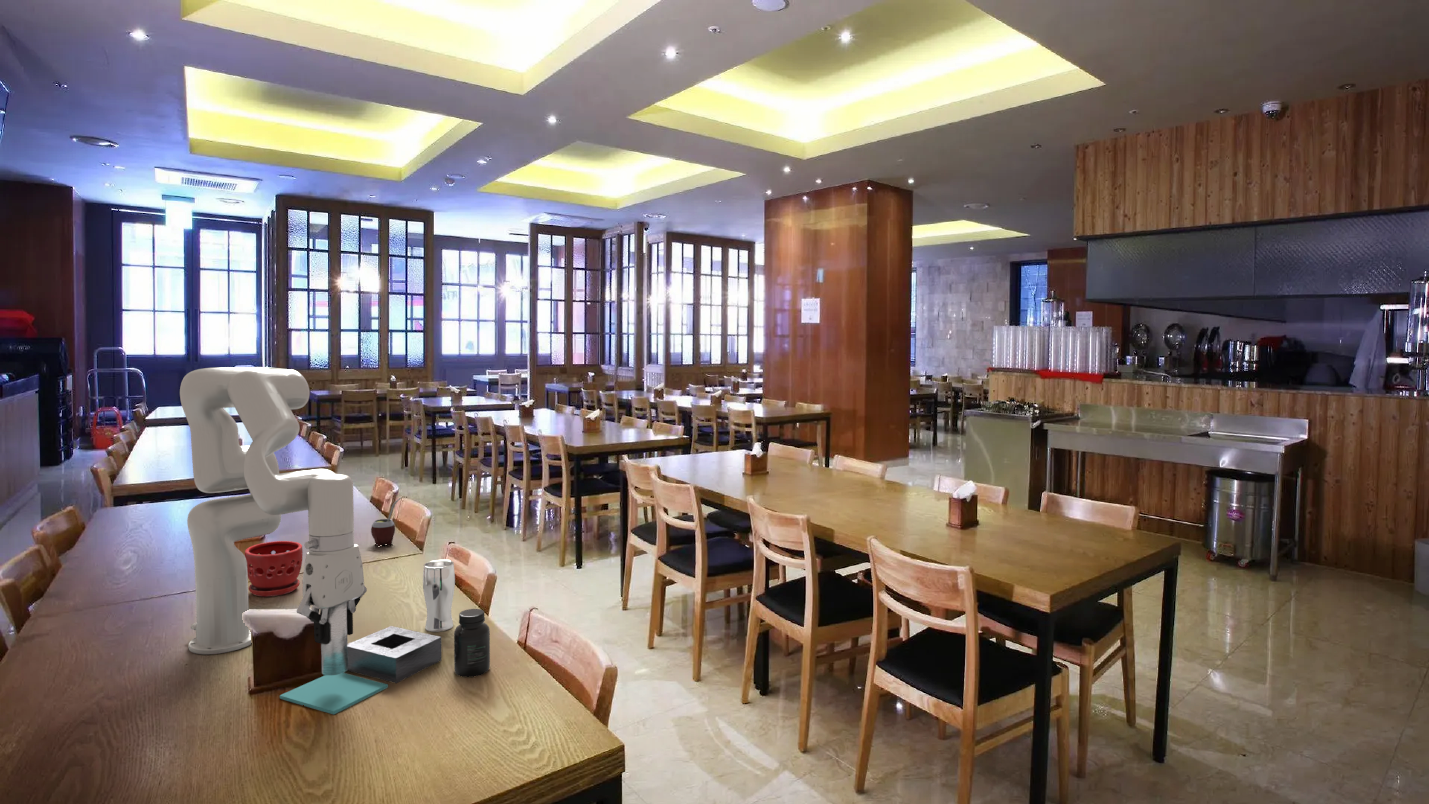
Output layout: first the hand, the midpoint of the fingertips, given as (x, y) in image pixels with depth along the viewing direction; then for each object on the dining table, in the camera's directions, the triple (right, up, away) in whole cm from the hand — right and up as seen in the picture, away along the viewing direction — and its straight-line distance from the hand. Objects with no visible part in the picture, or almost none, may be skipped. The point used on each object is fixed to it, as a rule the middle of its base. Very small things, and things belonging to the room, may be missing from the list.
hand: (334, 637), depth 143 cm
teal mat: (0, -11, +1) cm, 11 cm away
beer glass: (+7, -9, +35) cm, 36 cm away
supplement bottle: (+22, -11, +12) cm, 27 cm away
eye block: (+5, -10, +14) cm, 18 cm away
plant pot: (-44, -6, +57) cm, 73 cm away
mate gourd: (-36, -3, +105) cm, 111 cm away
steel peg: (0, -6, 0) cm, 6 cm away
